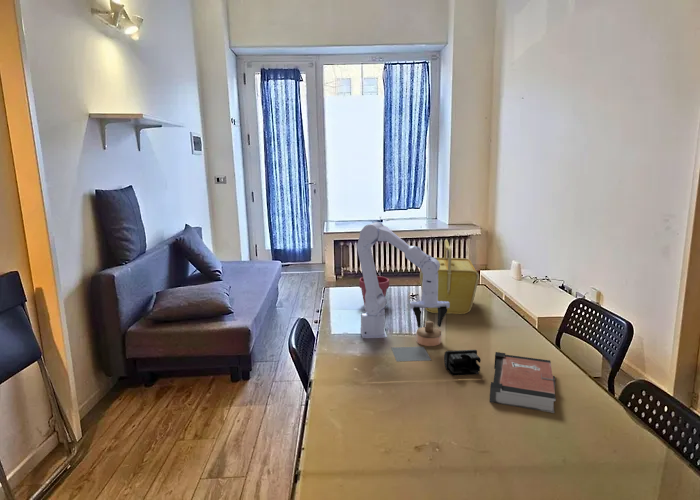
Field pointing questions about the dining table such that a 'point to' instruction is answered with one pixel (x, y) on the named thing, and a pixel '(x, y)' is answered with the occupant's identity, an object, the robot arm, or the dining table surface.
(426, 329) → the lid
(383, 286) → the plant pot
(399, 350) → the mat
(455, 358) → the end cap
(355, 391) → the dining table surface
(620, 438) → the dining table surface
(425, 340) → the bowl
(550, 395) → the book
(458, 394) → the dining table surface
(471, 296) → the picnic basket
